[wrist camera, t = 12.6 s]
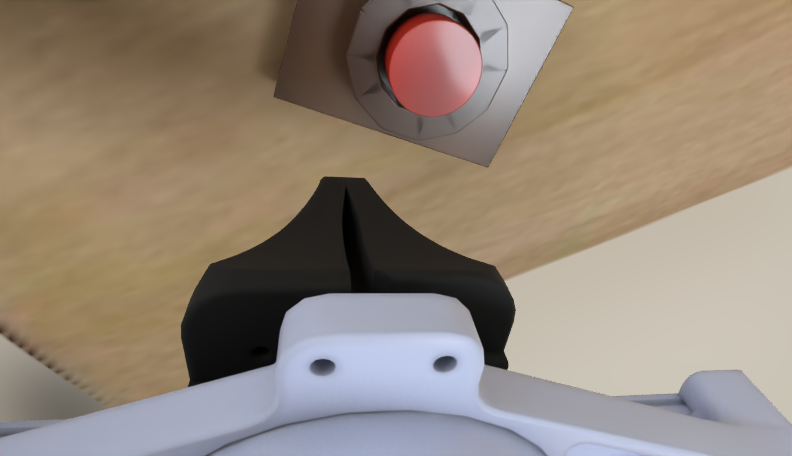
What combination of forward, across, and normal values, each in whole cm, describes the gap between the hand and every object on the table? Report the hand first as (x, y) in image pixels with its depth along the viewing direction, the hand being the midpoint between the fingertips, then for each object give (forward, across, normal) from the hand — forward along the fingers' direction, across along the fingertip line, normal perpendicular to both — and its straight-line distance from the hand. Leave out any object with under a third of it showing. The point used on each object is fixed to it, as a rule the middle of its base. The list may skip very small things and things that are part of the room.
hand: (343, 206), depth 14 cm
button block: (+10, -4, -3) cm, 11 cm away
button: (+7, -4, -3) cm, 8 cm away
